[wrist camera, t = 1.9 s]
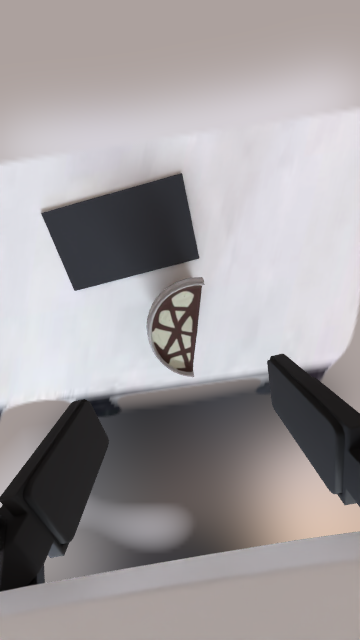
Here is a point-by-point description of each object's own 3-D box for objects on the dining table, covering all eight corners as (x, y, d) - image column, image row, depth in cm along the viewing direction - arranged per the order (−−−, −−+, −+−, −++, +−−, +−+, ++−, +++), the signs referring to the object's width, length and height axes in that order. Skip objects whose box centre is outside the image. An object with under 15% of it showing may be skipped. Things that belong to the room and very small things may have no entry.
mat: (75, 290, 28) (74, 290, 27) (42, 213, 24) (41, 213, 24) (198, 258, 27) (199, 258, 27) (181, 174, 24) (181, 173, 23)
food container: (155, 271, 27) (144, 274, 18) (194, 274, 27) (205, 278, 18) (152, 343, 31) (143, 378, 21) (187, 345, 31) (193, 381, 22)
